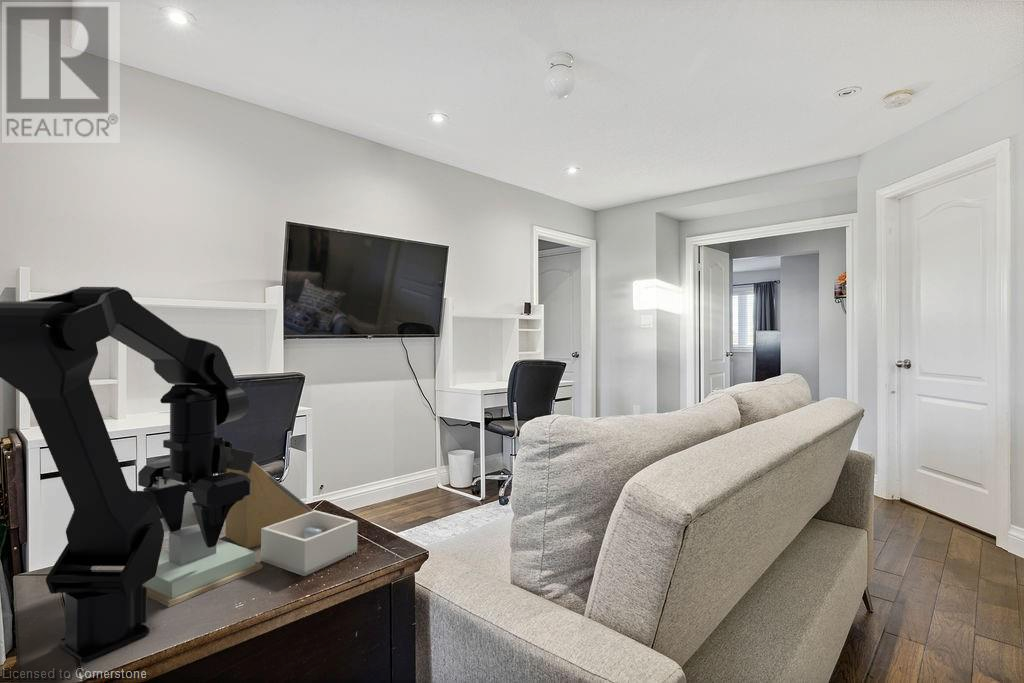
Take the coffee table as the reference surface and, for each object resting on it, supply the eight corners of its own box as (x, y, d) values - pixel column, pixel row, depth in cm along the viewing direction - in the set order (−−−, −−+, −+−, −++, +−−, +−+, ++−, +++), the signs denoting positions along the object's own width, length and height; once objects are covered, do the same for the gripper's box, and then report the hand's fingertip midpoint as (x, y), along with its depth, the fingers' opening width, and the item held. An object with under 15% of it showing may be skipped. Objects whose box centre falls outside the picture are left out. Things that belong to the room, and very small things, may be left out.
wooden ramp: (332, 524, 97) (332, 443, 97) (247, 550, 85) (248, 457, 85) (307, 514, 102) (308, 437, 102) (224, 537, 90) (225, 450, 90)
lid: (172, 598, 67) (172, 551, 67) (126, 577, 73) (127, 534, 73) (255, 565, 77) (255, 524, 77) (209, 548, 83) (210, 511, 83)
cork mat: (168, 606, 66) (168, 602, 66) (118, 582, 73) (118, 578, 73) (262, 568, 77) (262, 564, 77) (211, 550, 84) (211, 546, 84)
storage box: (304, 576, 75) (304, 541, 75) (261, 561, 80) (261, 528, 80) (357, 552, 84) (357, 520, 84) (314, 539, 89) (315, 510, 89)
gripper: (284, 429, 77) (284, 534, 77) (211, 419, 87) (211, 513, 87) (209, 442, 68) (209, 562, 68) (136, 428, 77) (136, 534, 77)
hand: (193, 540), depth 75 cm, fingers open, 9 cm apart
